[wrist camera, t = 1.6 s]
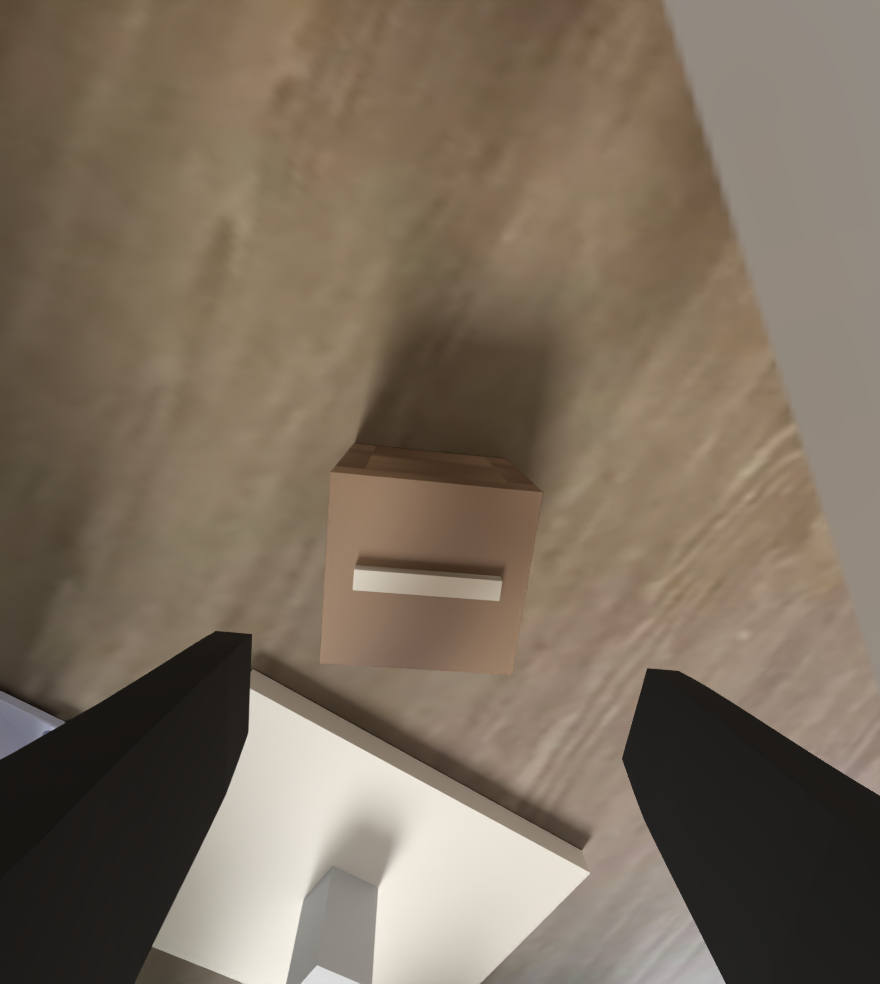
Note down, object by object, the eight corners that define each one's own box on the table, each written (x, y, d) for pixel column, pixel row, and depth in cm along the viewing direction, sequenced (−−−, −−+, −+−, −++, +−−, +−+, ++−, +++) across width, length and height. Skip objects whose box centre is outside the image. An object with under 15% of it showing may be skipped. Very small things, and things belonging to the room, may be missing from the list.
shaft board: (91, 891, 21) (7, 1027, 17) (253, 668, 19) (204, 759, 14) (413, 1024, 24) (413, 1165, 20) (582, 851, 22) (624, 968, 18)
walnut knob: (344, 585, 18) (317, 669, 13) (353, 443, 17) (328, 474, 11) (485, 595, 18) (513, 681, 13) (505, 458, 17) (546, 495, 12)
